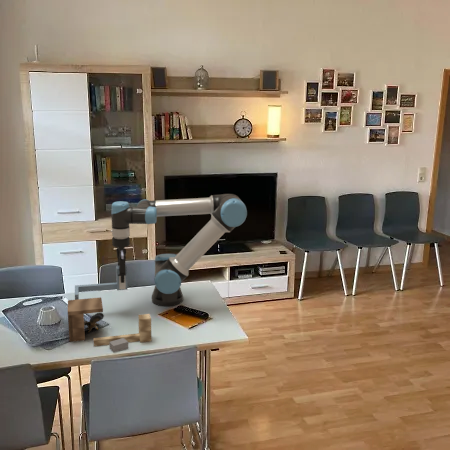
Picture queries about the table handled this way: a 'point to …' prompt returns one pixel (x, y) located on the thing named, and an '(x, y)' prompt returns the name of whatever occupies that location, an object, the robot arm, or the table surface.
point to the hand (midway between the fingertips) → (122, 286)
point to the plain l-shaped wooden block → (142, 336)
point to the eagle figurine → (93, 321)
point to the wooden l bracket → (81, 316)
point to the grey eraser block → (118, 345)
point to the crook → (100, 285)
